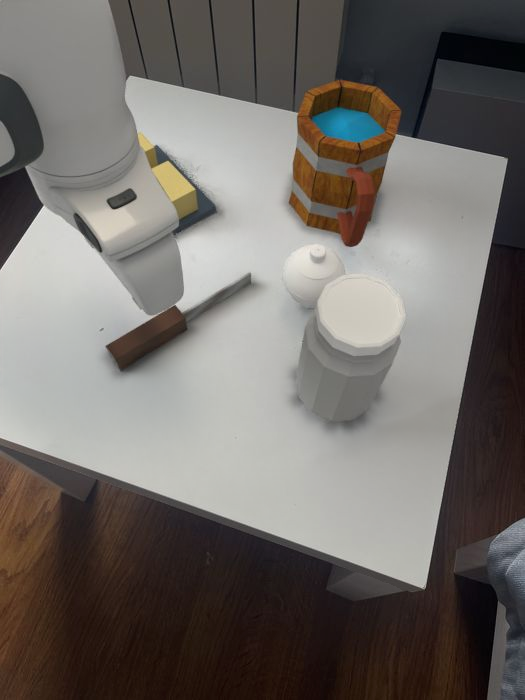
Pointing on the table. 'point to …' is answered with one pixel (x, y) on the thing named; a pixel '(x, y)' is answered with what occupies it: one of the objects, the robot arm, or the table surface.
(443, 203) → the table surface
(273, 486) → the table surface
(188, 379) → the table surface
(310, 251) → the spinning top
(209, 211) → the butter dish
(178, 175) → the butter block
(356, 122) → the mug
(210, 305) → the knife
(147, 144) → the block
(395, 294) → the jar
